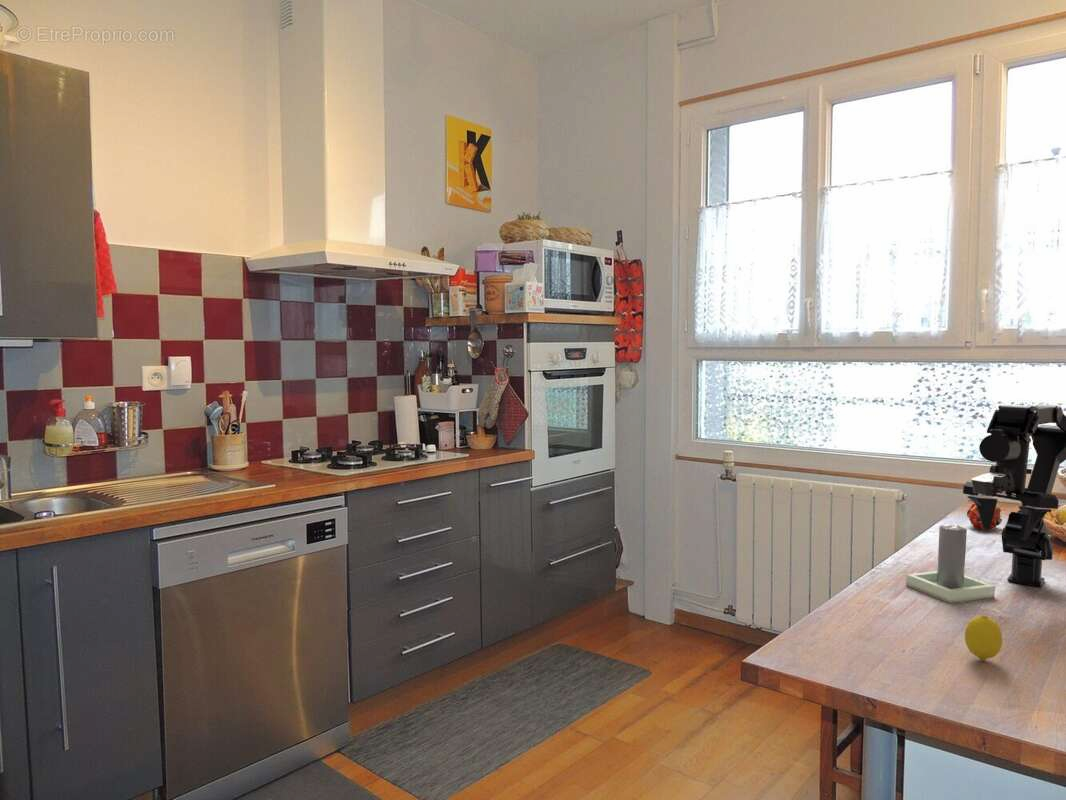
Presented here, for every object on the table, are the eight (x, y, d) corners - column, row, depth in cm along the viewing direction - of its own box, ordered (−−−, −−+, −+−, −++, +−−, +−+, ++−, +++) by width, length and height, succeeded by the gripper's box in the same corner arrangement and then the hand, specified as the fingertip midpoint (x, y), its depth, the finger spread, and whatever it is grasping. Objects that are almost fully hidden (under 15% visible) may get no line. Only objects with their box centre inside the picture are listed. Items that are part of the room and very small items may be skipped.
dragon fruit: (990, 529, 225) (982, 543, 216) (964, 510, 228) (955, 523, 219) (1010, 510, 220) (1003, 523, 211) (984, 490, 224) (975, 503, 215)
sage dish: (948, 580, 173) (948, 569, 172) (994, 597, 161) (995, 586, 161) (906, 585, 169) (906, 574, 169) (950, 603, 158) (950, 591, 157)
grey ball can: (939, 582, 169) (942, 521, 167) (965, 587, 166) (968, 524, 164) (934, 589, 165) (937, 525, 163) (961, 594, 162) (964, 529, 160)
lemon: (1006, 668, 127) (1009, 622, 126) (970, 665, 128) (972, 619, 127) (993, 655, 132) (995, 610, 131) (959, 652, 133) (961, 608, 132)
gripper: (946, 455, 169) (939, 524, 169) (1021, 465, 151) (1014, 543, 151) (985, 458, 172) (979, 526, 172) (1063, 468, 154) (1056, 544, 154)
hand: (1004, 534), depth 162 cm, fingers open, 9 cm apart
